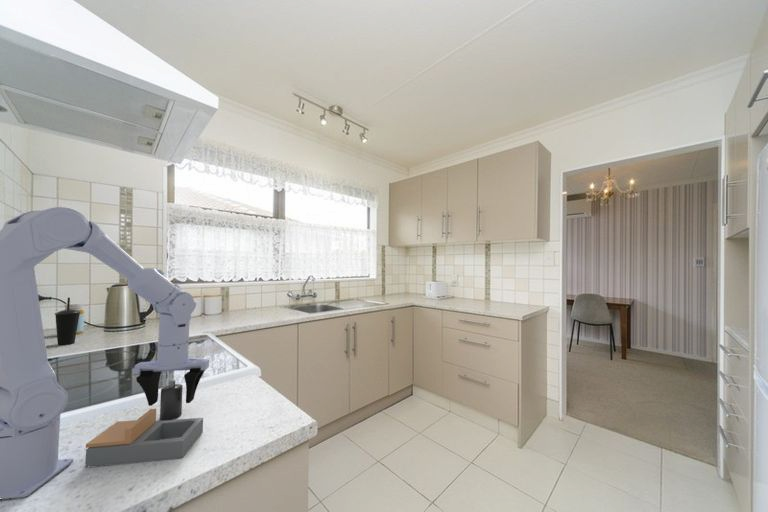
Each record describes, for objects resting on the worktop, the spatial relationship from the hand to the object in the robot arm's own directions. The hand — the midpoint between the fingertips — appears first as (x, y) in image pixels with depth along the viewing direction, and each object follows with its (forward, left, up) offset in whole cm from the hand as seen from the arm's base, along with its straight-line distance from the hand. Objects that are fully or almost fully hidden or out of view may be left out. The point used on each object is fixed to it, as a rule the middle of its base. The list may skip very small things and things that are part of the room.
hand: (171, 402), depth 65 cm
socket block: (+2, -12, -3) cm, 13 cm away
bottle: (-90, +92, -3) cm, 129 cm away
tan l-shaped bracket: (-2, -12, 0) cm, 12 cm away
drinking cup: (-77, +72, -3) cm, 105 cm away
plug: (0, 0, -3) cm, 3 cm away
